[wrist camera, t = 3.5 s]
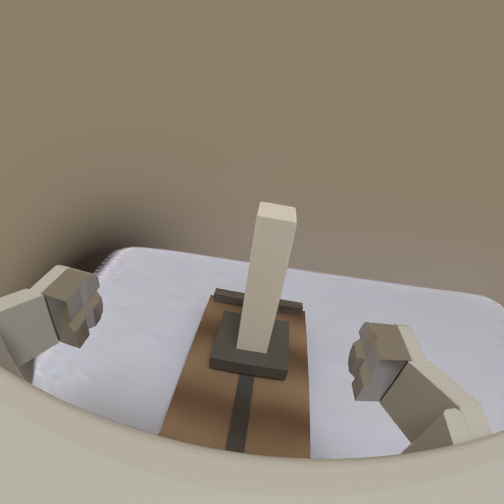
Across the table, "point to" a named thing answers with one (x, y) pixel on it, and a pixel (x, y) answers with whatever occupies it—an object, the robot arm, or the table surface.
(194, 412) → the fader track
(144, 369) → the table surface
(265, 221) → the fader tab
